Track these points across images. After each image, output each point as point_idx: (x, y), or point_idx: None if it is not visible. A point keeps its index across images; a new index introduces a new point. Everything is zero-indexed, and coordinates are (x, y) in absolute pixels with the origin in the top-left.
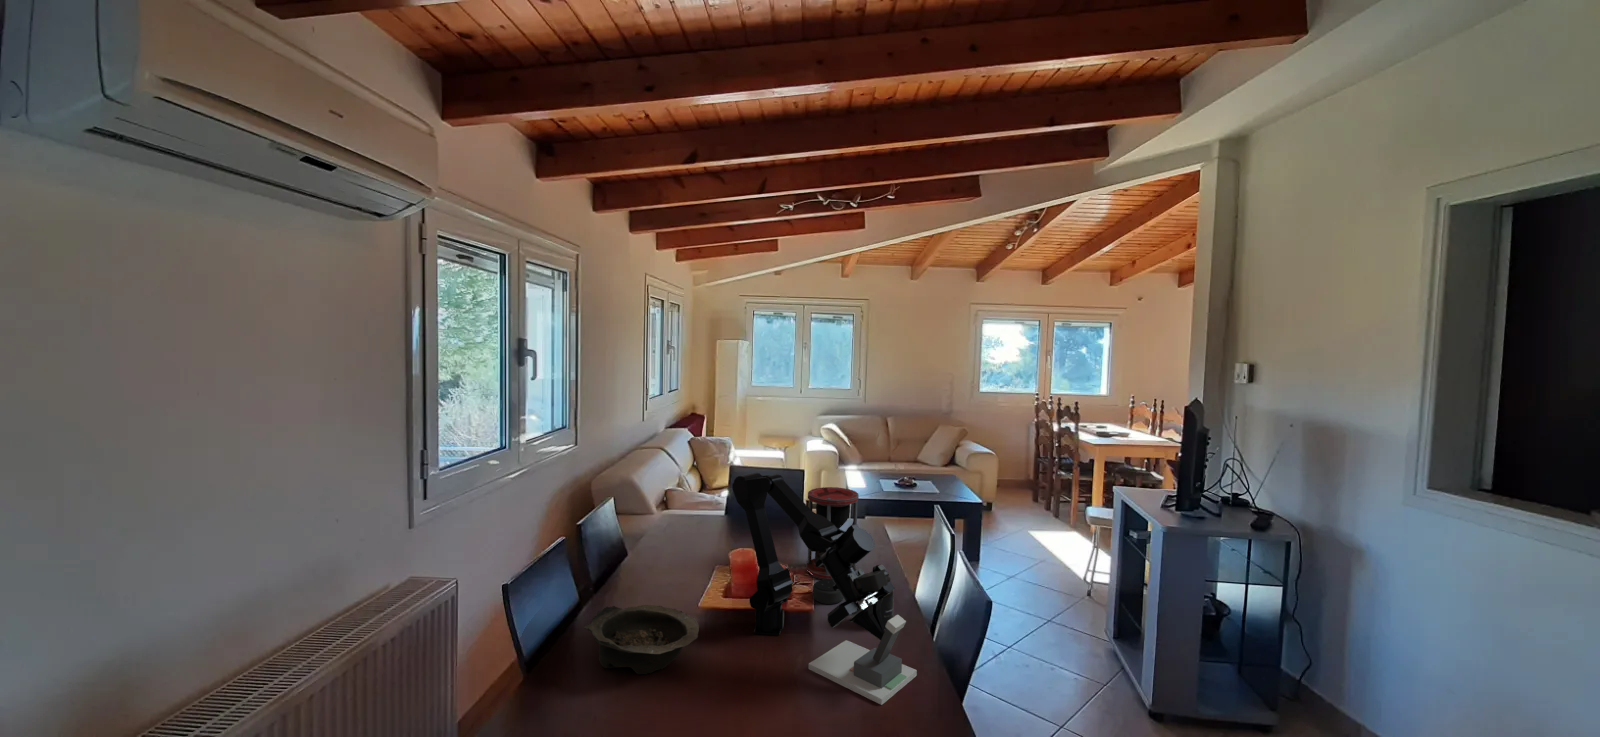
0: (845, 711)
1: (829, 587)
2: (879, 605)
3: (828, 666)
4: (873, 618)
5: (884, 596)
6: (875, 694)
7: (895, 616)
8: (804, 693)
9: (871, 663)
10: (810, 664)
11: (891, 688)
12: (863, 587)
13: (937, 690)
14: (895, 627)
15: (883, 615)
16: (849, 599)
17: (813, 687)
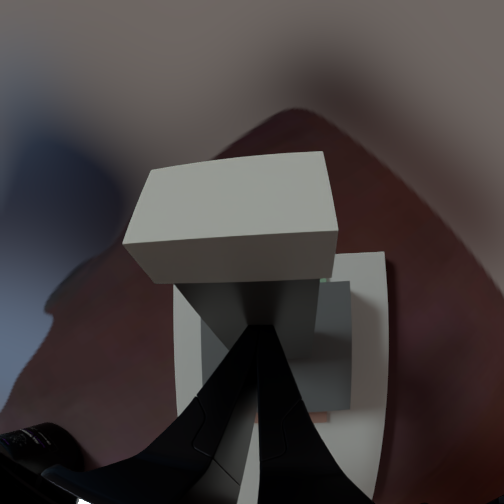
0: (460, 306)
1: None
2: (123, 473)
3: (350, 469)
4: (288, 440)
5: (12, 459)
6: (380, 279)
7: (173, 236)
8: (461, 425)
9: (314, 356)
10: (371, 498)
11: None
12: None
13: None
14: (323, 156)
15: (48, 446)
16: None
17: (431, 433)
